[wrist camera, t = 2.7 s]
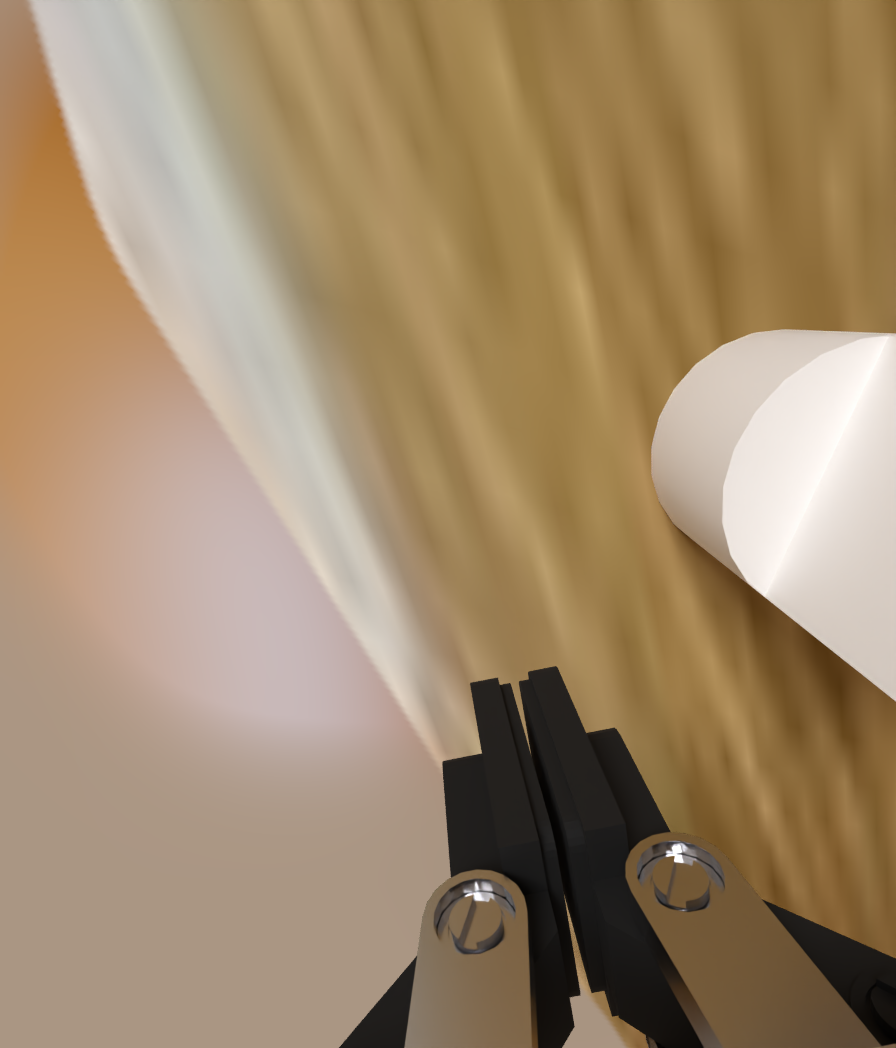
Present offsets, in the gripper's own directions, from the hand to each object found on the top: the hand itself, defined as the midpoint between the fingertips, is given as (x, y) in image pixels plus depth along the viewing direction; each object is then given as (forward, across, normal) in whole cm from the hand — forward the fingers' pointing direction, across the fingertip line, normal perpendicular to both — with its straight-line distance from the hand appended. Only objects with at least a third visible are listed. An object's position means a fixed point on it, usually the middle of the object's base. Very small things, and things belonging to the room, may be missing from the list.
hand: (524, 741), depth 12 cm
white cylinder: (+14, -12, -1) cm, 19 cm away
